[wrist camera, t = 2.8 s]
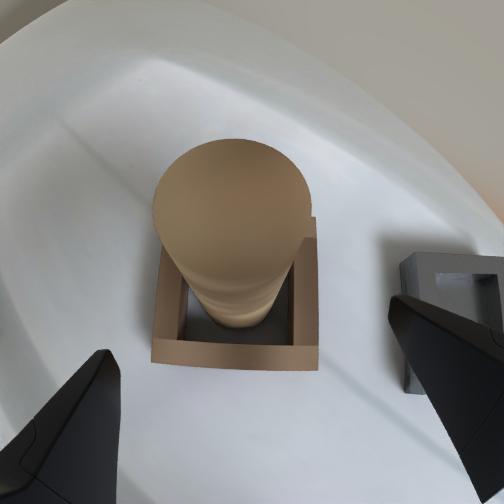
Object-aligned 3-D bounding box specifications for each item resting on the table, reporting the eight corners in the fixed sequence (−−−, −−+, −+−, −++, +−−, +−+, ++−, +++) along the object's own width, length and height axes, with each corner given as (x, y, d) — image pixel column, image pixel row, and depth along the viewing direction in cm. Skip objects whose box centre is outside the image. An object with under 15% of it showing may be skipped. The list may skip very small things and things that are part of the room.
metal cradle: (404, 393, 18) (422, 395, 16) (399, 263, 21) (415, 252, 19) (495, 375, 18) (515, 373, 16) (486, 266, 22) (504, 257, 19)
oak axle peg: (201, 328, 20) (141, 273, 8) (206, 261, 21) (167, 138, 9) (271, 332, 20) (314, 281, 8) (273, 264, 21) (307, 142, 9)
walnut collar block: (161, 362, 19) (150, 362, 16) (175, 227, 22) (167, 210, 19) (309, 369, 19) (318, 370, 16) (308, 232, 22) (315, 217, 20)
